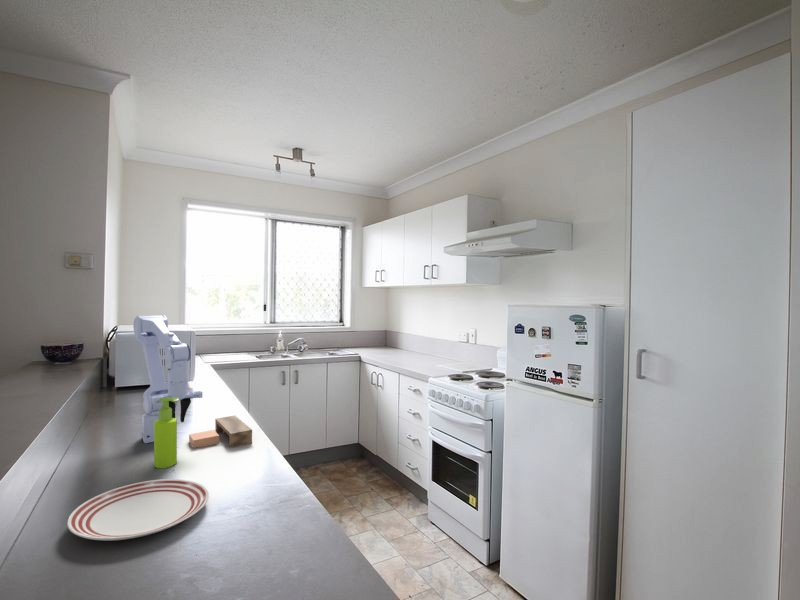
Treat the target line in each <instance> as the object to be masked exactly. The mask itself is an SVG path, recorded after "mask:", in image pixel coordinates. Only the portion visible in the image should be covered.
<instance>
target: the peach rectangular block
mask: <svg viewBox="0 0 800 600" xmlns="http://www.w3.org/2000/svg"><path fill="white" fill-rule="evenodd" d="M188 440H189V441H188V442H189V444H190V446H191V447H192V446H193V447H192V448H193V449H197V448H202V447H207V446H210V445H216V444H220V434H218V432H216V431H215V430H214V429H211V430H206V431H202V432H195V433H190V434H188ZM201 446H202V447H201ZM196 447H197V448H196Z"/></svg>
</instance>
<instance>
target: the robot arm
mask: <svg viewBox="0 0 800 600" xmlns="http://www.w3.org/2000/svg"><path fill="white" fill-rule="evenodd" d="M132 325H133V331H134V337H135V340H136V341H137V342H139V343H141V346H142V351H143V356H144V360H145V366H146V369H147V370H146V371H147V374H148V381H149V387H148V388H147V389H146V390H145V391H144V392H143V394H142V399H143V401H142V407H143V410H144V412H145V413H146V414H142V416H141V438H142V441H143V443H144V444H148V443H154V422H155V421H156V420H159V409H161V408H162V401H159V399H160V398H163V397H174V398H177V399H179V400H178V401H176V402H172V401H169V407H170V408H172V418H176V409H177V407H178V406H180V415H179V416H180V422H181V423H184V422H185V418H186V415H187V412H188V409H189V407H190V405H191V403H192V400H191V399H201V398H203V391H202V390H196V391H189V389H188V386H189V385H188V383H189V382H188V381H189V379H188V377H189V376H188V374H189V371H188V368H189V367H188V361H190V360H191V357H192V350H191V347H190V345H189V343H187V342H186V343H184V342H182V341H181V340H180V339H179V337H178V336H177V335H176V333H174V332H170V330H169V329H168V326H169V319H168V317H167V316H166V315H165V314H161V315H136V316H135V317H134V319H133V324H132ZM158 344H159V345H158ZM159 346H160V347H161V349H162V351H163V352H164V359H165V365H166V369H167V382H166V377H165V372H164V367H163V362H162V359H161V354H160V353H161V352H160V349H159ZM179 403H180V405H179Z"/></svg>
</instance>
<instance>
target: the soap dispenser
mask: <svg viewBox="0 0 800 600" xmlns="http://www.w3.org/2000/svg"><path fill="white" fill-rule="evenodd" d="M178 400H179V399H177V398H174V397H163V398H160V399H159V401H162V408H161V409H159V420H156V421H155V422H154V442H153V445H154V446H153V450H154V451H153V454H154V455H153V459H154V461H153V462H154V463H153V465H154V466H155V467H157V468H156V469H166V468H165V467H168V468H170V467H169V466H171V467H173V466H172V465H174V464H175V465H177V464H178V461H177V459H178V453H177V452H178V445H177V444H178V443H177V442H178V440H177V439H178V436H177V435H178V432H177V431H178V429H177V428H178V425H177V423H178V422H177V421H178V420H177V418H176V417H175V418H172V408H170V407H169V401H172V402H176V401H178ZM179 401H180V400H179ZM175 465H174V466H175ZM154 466H153V467H154ZM155 467H154V468H155Z"/></svg>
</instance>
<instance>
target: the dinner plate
mask: <svg viewBox="0 0 800 600" xmlns="http://www.w3.org/2000/svg"><path fill="white" fill-rule="evenodd" d="M209 498H210V497H209V491H208V489H207V487H206V486H204V485H203V484H201V483H199V482H196V481H193V480H187V479H179V478H167V479H166V478H163V479H151V480H145V481H140V482H135V483H131V484H126V485H123V486H120V487H117V488H113V489H110V490H107V491H105V492H102V493H101V494H98V495H96V496H93V497H92V498H90V499H88V500H86V501H85V502H82V504H80V505H78V506H77V507H76V508H75V509H74V510H73V511H72V512H71V514H69V517H67V518H68V519H67V523H66V524H67V525H66V526H67V528H68V530H69V531H70V532H71V533H72V534H74V535H76V536H77V537H80V538H82V539H83V538H84V539H87V540H93V541H107V542H108V541H122V540H130V539H135V538H136V539H137V538H141V537H145V536H149V535H153V534H155V533H159V532H161V531H165V530H167V529H169V528H172V527H174V526H176V525H179V524H180V523H182V522H183V521H185V520H187V519H189V518H190V517H191V518H192V517H193V516H194V515H196V514H198V512H199V511H200V510H202V509H203V507H205V506H206V504H207V502H208V500H209Z"/></svg>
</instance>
